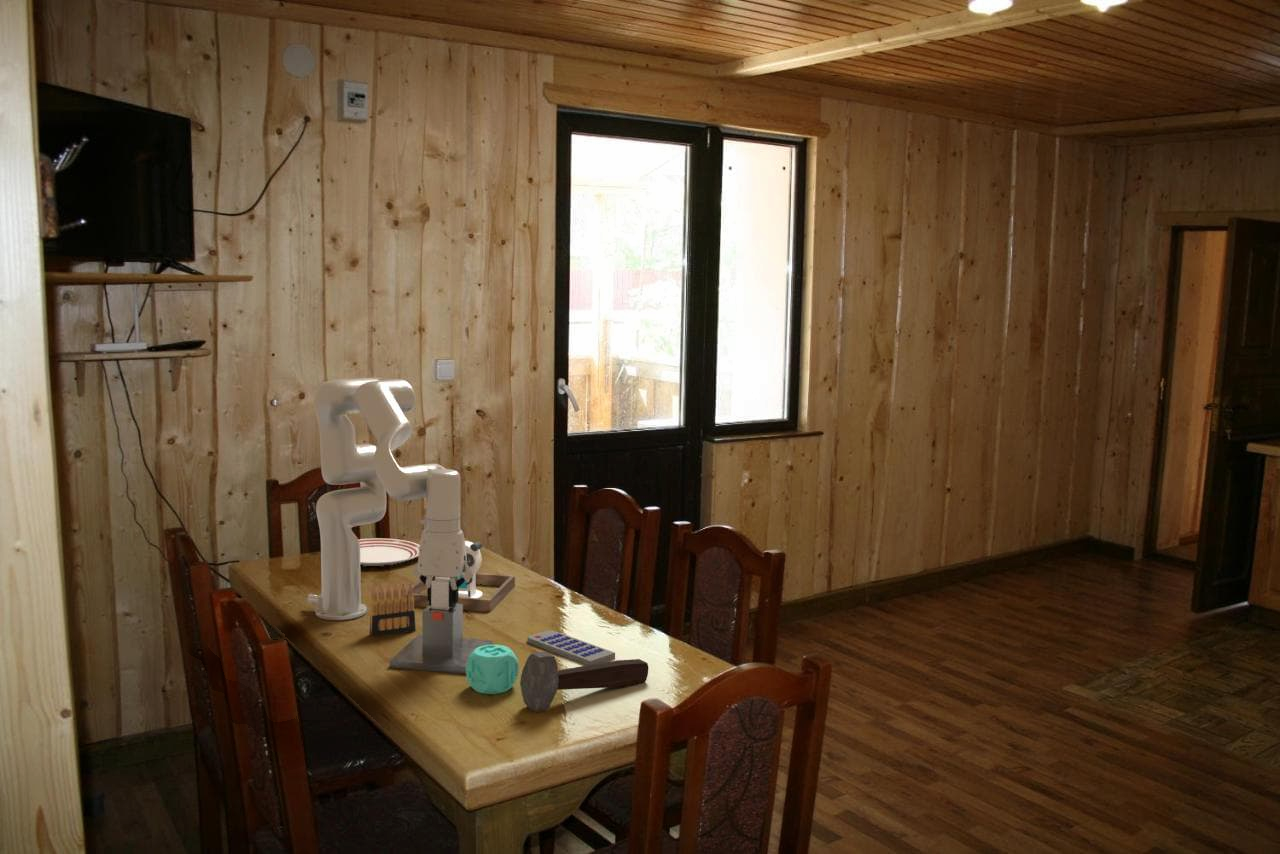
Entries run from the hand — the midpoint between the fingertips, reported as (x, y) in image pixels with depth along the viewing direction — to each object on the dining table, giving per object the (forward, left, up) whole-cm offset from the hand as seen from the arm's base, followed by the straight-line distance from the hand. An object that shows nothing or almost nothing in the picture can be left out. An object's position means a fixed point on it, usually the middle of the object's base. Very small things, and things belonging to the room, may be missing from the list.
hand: (442, 603), depth 236 cm
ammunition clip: (-17, +13, -13) cm, 25 cm away
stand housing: (0, 0, -12) cm, 12 cm away
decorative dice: (+16, -15, -13) cm, 25 cm away
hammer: (+36, -15, -13) cm, 41 cm away
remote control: (+27, +11, -13) cm, 32 cm away
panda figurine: (-11, +46, -12) cm, 49 cm away
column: (0, 0, -11) cm, 11 cm away
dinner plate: (-47, +76, -13) cm, 90 cm away
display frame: (-11, +46, -12) cm, 49 cm away
